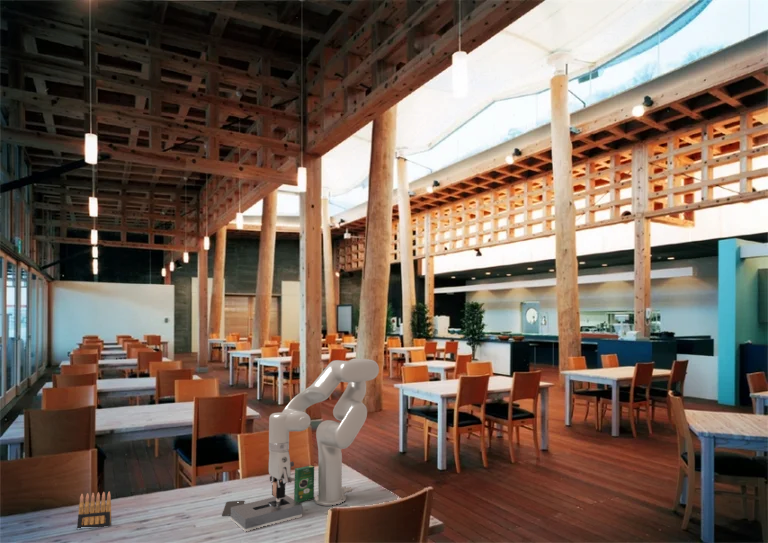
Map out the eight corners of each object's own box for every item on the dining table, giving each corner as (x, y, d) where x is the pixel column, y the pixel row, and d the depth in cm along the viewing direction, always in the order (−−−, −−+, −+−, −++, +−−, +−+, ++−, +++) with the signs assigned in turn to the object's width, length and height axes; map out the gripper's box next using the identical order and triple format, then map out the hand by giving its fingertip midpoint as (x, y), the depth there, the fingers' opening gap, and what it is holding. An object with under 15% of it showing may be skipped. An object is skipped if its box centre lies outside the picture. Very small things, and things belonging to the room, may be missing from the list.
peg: (280, 508, 197) (281, 479, 198) (286, 512, 194) (286, 482, 195) (270, 511, 195) (270, 481, 196) (275, 515, 191) (275, 484, 192)
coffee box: (310, 497, 213) (311, 464, 215) (314, 498, 211) (314, 465, 212) (293, 501, 208) (293, 468, 210) (297, 503, 206) (297, 469, 207)
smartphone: (226, 503, 208) (221, 517, 193) (226, 501, 208) (221, 515, 194) (245, 502, 209) (241, 516, 195) (245, 500, 210) (241, 513, 195)
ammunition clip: (111, 524, 187) (112, 490, 188) (110, 526, 185) (111, 491, 186) (78, 527, 185) (79, 492, 186) (76, 529, 183) (78, 494, 184)
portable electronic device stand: (287, 477, 240) (287, 458, 241) (295, 481, 234) (295, 462, 235) (269, 481, 235) (269, 462, 235) (278, 485, 229) (278, 466, 229)
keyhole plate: (285, 506, 204) (285, 494, 204) (301, 516, 192) (301, 504, 193) (230, 519, 190) (230, 507, 191) (245, 532, 179) (245, 518, 180)
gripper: (297, 449, 192) (297, 500, 191) (278, 440, 205) (278, 488, 204) (279, 452, 188) (278, 504, 186) (260, 443, 201) (260, 492, 199)
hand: (278, 495), depth 195 cm, fingers closed on peg, 3 cm apart
